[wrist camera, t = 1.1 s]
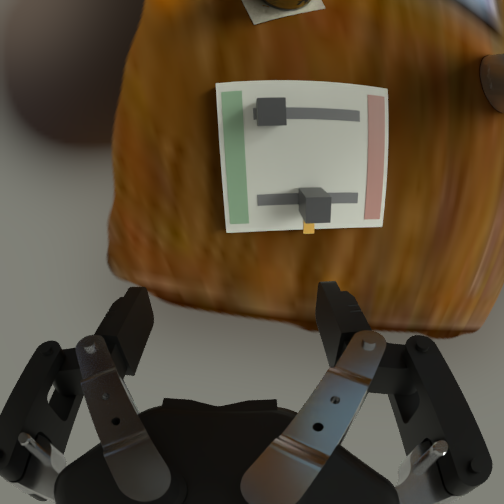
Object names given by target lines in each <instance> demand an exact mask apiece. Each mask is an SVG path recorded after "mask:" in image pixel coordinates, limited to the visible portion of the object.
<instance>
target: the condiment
mask: <svg viewBox="0 0 504 504" xmlns="http://www.w3.org/2000/svg"><path fill="white" fill-rule="evenodd" d="M242 2H243V4H244V6H245V8H246V9H247V12H248V14H249V16H250V17H251V19H252V21H253V23H254V25H255V24H259V23H262V22H266V21H269V20H272V19H277V18H280V17H285V16H289V15H294V14H299V13H304V12H309V11H314V10H320V9H324V8H325V6H324V4H323V2H322V1H321V0H242ZM262 5H265V6H262ZM266 6H269V7H266Z"/></svg>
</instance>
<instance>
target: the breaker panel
mask: <svg viewBox="0 0 504 504" xmlns="http://www.w3.org/2000/svg"><path fill="white" fill-rule="evenodd" d="M216 97H217V114H218V130H219V145H220V159H221V172H222V185H223V198H224V210H225V222H226V233H235V232H255V231H276V230H300V229H303V234H314V229H326V228H357V227H382V224H383V215H384V205H385V194H386V181H387V164H388V89H385V88H379V87H372V86H365V85H356V84H347V83H336V82H322V81H299V80H263V81H240V82H226V83H216ZM275 97H286V120H287V125H281V126H257V117H256V99H257V98H275ZM310 187H321V188H322V189H324V190H325V191H326V192H327V193H328V194H329V195H330V196H331V197H332V198H331V221H330V223H310V224H306V223H305V222H304V220H303V218H302V216H301V214H300V212H299V188H310Z"/></svg>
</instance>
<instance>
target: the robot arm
mask: <svg viewBox="0 0 504 504" xmlns="http://www.w3.org/2000/svg"><path fill="white" fill-rule="evenodd" d="M480 77H481V83H482V86H483V90H484V92H485V95H486V97H487V99H488V100H489V102H490V103H491V105H492V106H493V107H494V108H495V109H496V110H497V111H499V112H501V113H504V54H496V55H487V56H486V57H484V58H483V60H482V62H481V66H480ZM316 322H317V326H318V329H319V332H320V336H321V339H322V342H323V345H324V349H325V352H326V356H327V359H328V362H329V366H330V368H329V369H328V371H327V372H326V374H325V375H324V377H323V378H322V380H321V381H320V383H319V384H318V386H317V387H316V389H315V390H314V391H313V393H312V394H311V396H310V397H309V399H308V400H307V401H306V403H305V404H304V405H303V407H302V408H301V410H300V411H299V412H298V413H297V412H294V411H291V410H289V409H285V408H280V407H277V400H276V399H273V400H251V401H250V400H249V401H244V402H239V403H234V404H230V405H225V406H213V405H209V404H205V403H200V402H197V401H193V400H185V399H170V398H164V400H163V404H162V406H158V407H153V408H151V409H148V410H145V411H143V412H141V413H140V412H139V410H138V408H137V406H136V404H135V402H134V400H133V398H132V396H131V394H130V392H129V390H128V388H127V386H126V384H125V382H124V380H123V378H124V376H125V375H132V376H134V375H135V372H136V369H137V367H138V364H139V361H140V358H141V356H142V353H143V351H144V348H145V345H146V342H147V340H148V338H149V335H150V332H151V330H152V327H153V323H154V315H153V311H152V307H151V303H150V300H149V296H148V292H147V289H146V288H145V287H130V288H129V289H128V291H127V292H126V294H125V296H124V297H120V298H119V299H118V300H116V301H115V302H114V303H113V304H112V306H111V307H110V309H109V312H107V314H106V316H105V317H104V319H103V321H102V322H101V324H100V326H99V327H98V329H97V331H96V332H95V334H94V335H89V336H86V337H84V338H82V339H81V340H80V341H79V342H78V343H77V345H76V348H71V349H63V350H62V349H61V347H60V345H59V343H58V342H56V341H47V342H44V343H42V344H41V345H40V346H39V347H38V348H37V349H36V351H35V352H34V354H33V356H32V357H31V359H30V360H29V362H28V364H27V366H26V367H25V369H24V371H23V373H22V374H21V376H20V378H19V380H18V381H17V383H16V385H15V387H14V389H13V391H12V393H11V395H10V396H9V398H8V400H7V403H6V404H5V406H4V408H3V411H2V413H1V415H0V475H1V476H2V477H3V478H4V479H5V480H6V481H7V482H9V483H10V484H12V485H13V486H15V487H16V488H18V489H19V490H21V491H23V492H24V493H27V494H29V495H30V496H32V497H33V498H35V499H37V500H39V501H46V500H49V501H52V502H54V503H56V504H450V503H452V502H454V501H455V500H457V499H458V498H460V497H462V496H464V495H465V494H467V493H469V492H470V491H472V490H473V489H475V488H476V487H478V486H479V485H480V484H482V483H483V482H485V481H486V480H487V479H488V477H489V475H490V474H491V471H492V460H491V457H490V454H489V452H488V449H487V446H486V444H485V441H484V439H483V437H482V434H481V432H480V429H479V427H478V425H477V423H476V420H475V418H474V416H473V414H472V412H471V410H470V408H469V405H468V403H467V401H466V399H465V397H464V395H463V393H462V391H461V389H460V387H459V385H458V384H457V382H456V380H455V378H454V376H453V374H452V372H451V370H450V369H449V367H448V365H447V363H446V361H445V360H444V358H443V356H442V354H441V353H440V351H439V349H438V347H437V346H436V344H435V343H434V342H433V341H432V340H431V339H430V338H428V337H425V336H421V335H415V336H412V337H410V338H409V339H408V340H407V342H406V344H405V345H401V344H391V343H387V342H386V340H385V338H384V337H383V336H382V335H380V334H379V333H377V332H375V331H372V330H371V328H370V326H369V324H368V322H367V320H366V318H365V316H364V314H363V312H361V309H360V307H359V306H358V303H357V301H356V299H355V297H354V296H352V295H351V294H350V293H349V292H347V291H340V289H339V287H338V285H337V283H336V281H329V282H319V284H318V292H317V302H316ZM52 384H53V385H54V387H55V390H54V392H53V395H52V397H51V399H50V401H49V404H48V401H47V395H48V392H49V390H50V388H51V386H52ZM368 392H371V393H381V394H388V397H389V400H390V403H391V406H392V409H393V412H394V415H395V418H396V422H397V425H398V428H399V432H400V435H401V438H402V442H403V445H404V449H405V452H406V456H407V457H406V458H405V459H404V460H403V461H402V462H401V464H400V466H399V469H398V482H397V485H396V487H394V486H393V484H392V483H391V482H390V481H389V480H388V479H386V478H385V477H383V476H382V475H380V474H379V473H378V472H376V471H375V470H373V469H372V468H371V467H369V466H368V465H367V464H365V463H364V462H362V461H361V460H360V459H358V458H357V457H356V456H354V455H353V454H351V453H350V452H349V451H348V450H346V449H345V448H344V447H342V446H341V444H342V442H343V441H344V439H345V437H346V435H347V434H348V432H349V430H350V428H351V426H352V424H353V422H354V420H355V418H356V416H357V414H358V413H359V411H360V409H361V406H362V405H363V403H364V401H365V399H366V396H367V394H368ZM83 396H84V397H85V400H86V403H87V406H88V409H89V412H90V415H91V418H92V420H93V423H94V426H95V429H96V432H97V434H98V437H99V439H100V443H99V444H98V445H96V446H95V447H93V448H92V449H91V450H89V451H88V452H87V453H85V454H84V455H82V456H81V457H80V458H78V459H77V460H75V461H74V462H72V463H71V464H69V465H68V466H66V459H65V457H64V452H65V448H66V445H67V442H68V439H69V435H70V433H71V430H72V427H73V424H74V421H75V418H76V415H77V412H78V410H79V407H80V404H81V401H82V398H83Z"/></svg>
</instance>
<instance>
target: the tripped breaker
mask: <svg viewBox="0 0 504 504" xmlns="http://www.w3.org/2000/svg"><path fill="white" fill-rule="evenodd" d="M331 198H332V197H331V196H330V195H329V194H328V193H327V192H326V191H325V190H324V189H322V188H321V187H310V188H299V212H300V214H301V216H302V218H303V220H304V222H305V223H306V224H310V223H330V221H331Z"/></svg>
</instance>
